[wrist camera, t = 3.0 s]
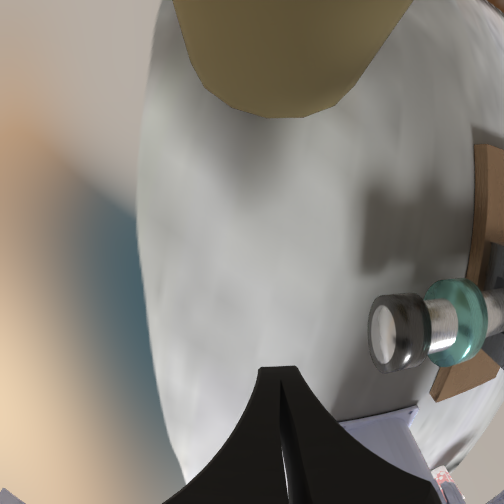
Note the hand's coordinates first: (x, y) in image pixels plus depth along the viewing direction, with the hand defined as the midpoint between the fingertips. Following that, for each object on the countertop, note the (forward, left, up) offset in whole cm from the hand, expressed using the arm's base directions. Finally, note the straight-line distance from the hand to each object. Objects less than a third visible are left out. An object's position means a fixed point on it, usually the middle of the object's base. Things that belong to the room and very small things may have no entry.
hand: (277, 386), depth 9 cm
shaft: (+13, 0, -6) cm, 14 cm away
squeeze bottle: (+1, +14, -8) cm, 16 cm away
